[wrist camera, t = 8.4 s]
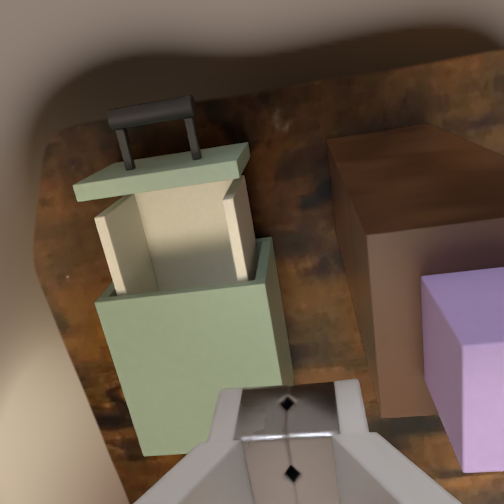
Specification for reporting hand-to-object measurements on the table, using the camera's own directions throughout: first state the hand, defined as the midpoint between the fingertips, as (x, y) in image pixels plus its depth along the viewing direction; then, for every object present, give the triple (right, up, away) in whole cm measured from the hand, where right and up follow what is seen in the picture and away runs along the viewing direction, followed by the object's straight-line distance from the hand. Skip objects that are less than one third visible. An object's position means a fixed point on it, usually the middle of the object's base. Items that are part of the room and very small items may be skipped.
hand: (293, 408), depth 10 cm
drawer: (-6, +7, +29) cm, 31 cm away
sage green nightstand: (-4, -3, +34) cm, 34 cm away
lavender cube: (+8, +1, +7) cm, 10 cm away
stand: (+10, +9, +28) cm, 31 cm away
